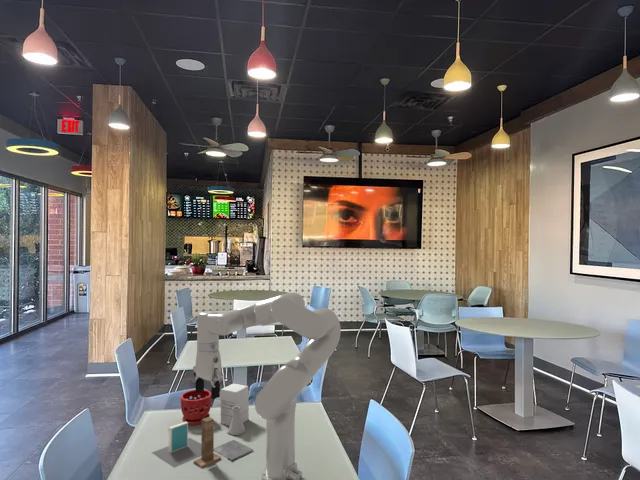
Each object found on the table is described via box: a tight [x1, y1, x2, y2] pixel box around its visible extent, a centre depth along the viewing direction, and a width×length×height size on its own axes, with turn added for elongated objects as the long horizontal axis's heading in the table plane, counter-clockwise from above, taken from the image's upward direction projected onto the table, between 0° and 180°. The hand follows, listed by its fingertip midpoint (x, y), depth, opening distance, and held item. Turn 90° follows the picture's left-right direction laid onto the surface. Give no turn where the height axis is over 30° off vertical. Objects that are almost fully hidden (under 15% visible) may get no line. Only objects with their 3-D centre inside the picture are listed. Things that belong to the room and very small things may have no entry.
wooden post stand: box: [193, 417, 222, 469], centre depth 147 cm, size 5×8×15 cm, turn 139°
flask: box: [227, 406, 246, 436], centre depth 172 cm, size 7×7×10 cm
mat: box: [151, 437, 201, 468], centre depth 154 cm, size 16×16×1 cm
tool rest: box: [214, 439, 254, 462], centre depth 156 cm, size 12×10×1 cm
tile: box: [168, 421, 189, 453], centre depth 156 cm, size 2×7×9 cm, turn 139°
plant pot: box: [180, 389, 212, 426], centre depth 183 cm, size 13×13×12 cm
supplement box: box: [220, 383, 249, 426], centre depth 182 cm, size 9×9×15 cm
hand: (207, 394), depth 148 cm, fingers open, 9 cm apart
